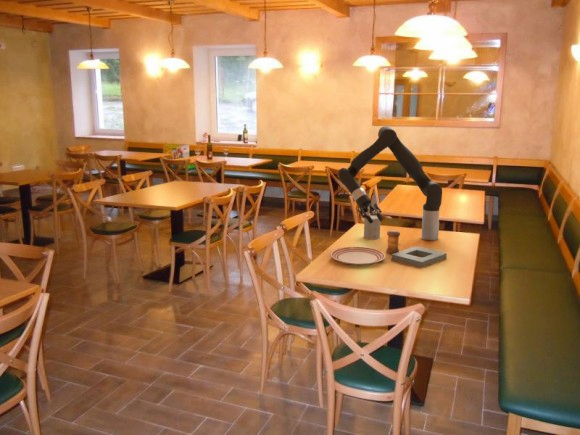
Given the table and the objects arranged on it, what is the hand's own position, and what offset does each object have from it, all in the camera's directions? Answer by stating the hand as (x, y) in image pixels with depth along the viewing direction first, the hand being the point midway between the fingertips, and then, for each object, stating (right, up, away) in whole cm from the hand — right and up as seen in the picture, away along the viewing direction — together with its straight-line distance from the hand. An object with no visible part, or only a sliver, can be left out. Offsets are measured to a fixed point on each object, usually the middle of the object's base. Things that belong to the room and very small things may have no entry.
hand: (376, 221), depth 284 cm
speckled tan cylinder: (+1, -10, +25) cm, 27 cm away
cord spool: (+8, -16, -5) cm, 19 cm away
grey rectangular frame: (+18, -19, -18) cm, 32 cm away
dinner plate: (-13, -20, -18) cm, 29 cm away
